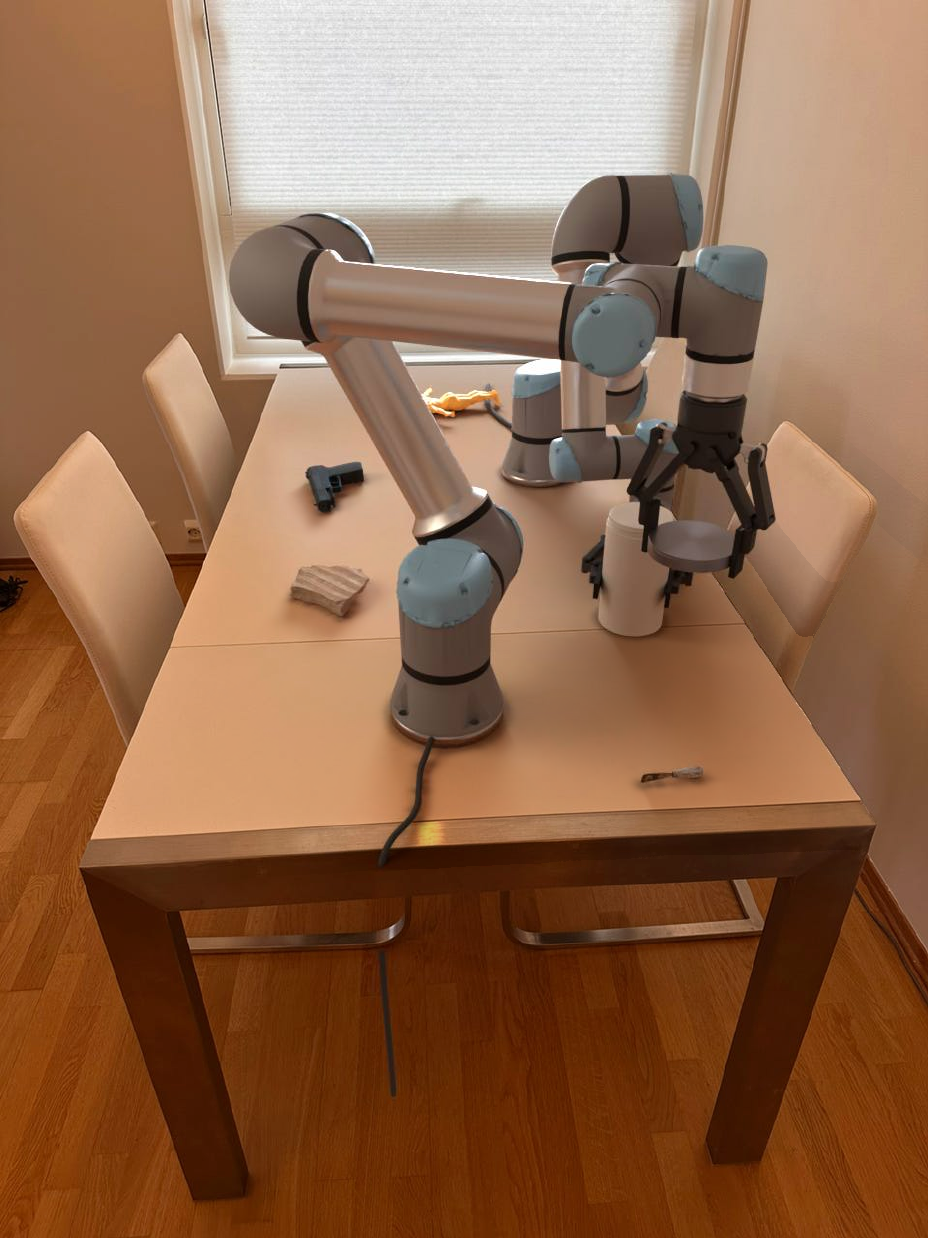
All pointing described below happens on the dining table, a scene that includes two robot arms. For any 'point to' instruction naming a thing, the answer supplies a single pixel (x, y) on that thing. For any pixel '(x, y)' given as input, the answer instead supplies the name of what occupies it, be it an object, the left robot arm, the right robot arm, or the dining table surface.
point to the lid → (691, 546)
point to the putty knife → (674, 774)
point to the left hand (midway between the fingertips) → (690, 560)
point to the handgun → (332, 482)
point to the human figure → (456, 401)
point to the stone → (329, 586)
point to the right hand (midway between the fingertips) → (631, 595)
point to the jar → (631, 576)
